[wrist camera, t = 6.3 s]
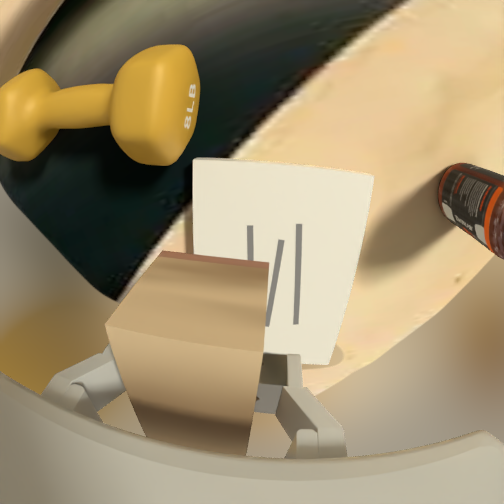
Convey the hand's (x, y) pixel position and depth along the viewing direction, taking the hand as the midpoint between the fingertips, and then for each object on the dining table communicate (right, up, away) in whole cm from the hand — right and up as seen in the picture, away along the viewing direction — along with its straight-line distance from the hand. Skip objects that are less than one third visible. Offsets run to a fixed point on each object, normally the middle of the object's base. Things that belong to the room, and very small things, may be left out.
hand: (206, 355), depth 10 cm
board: (+4, +2, +16) cm, 16 cm away
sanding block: (0, +1, +1) cm, 2 cm away
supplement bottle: (+21, +10, +11) cm, 26 cm away
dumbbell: (-11, +17, +10) cm, 23 cm away
